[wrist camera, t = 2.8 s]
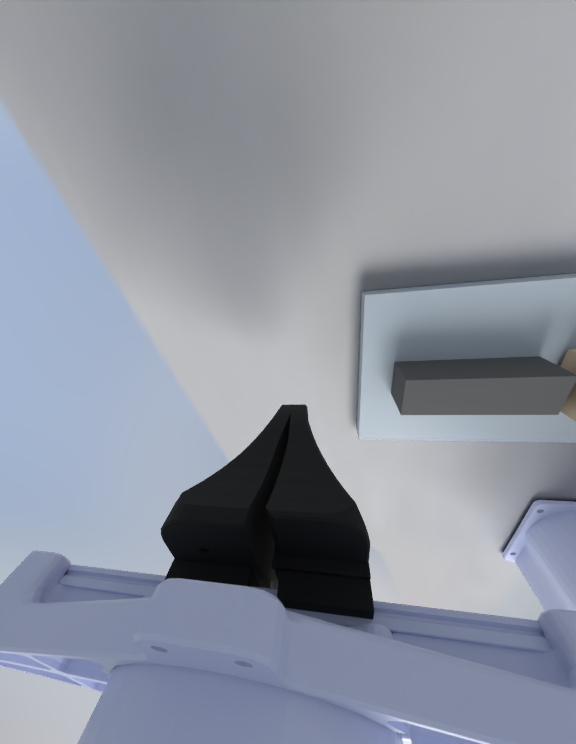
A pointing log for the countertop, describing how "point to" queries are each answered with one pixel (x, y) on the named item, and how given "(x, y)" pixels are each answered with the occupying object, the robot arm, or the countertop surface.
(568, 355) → the slider block
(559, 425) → the channel
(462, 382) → the bar
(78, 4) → the countertop surface
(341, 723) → the robot arm
